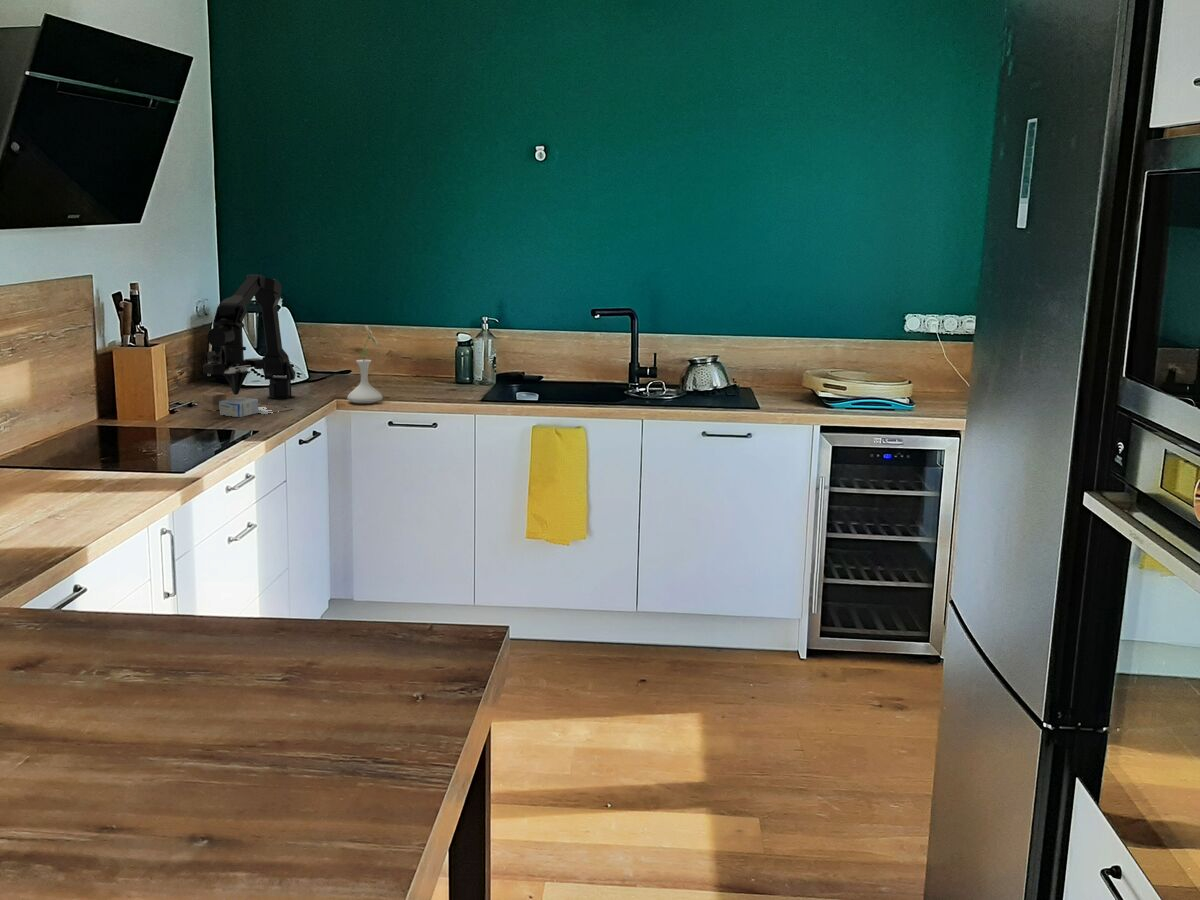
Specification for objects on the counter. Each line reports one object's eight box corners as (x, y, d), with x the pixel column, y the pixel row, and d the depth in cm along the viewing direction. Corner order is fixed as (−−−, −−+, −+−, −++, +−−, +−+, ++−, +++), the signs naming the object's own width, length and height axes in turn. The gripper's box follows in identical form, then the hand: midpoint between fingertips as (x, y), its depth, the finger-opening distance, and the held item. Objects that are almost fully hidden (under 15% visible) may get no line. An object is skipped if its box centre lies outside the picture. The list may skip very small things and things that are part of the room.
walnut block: (217, 407, 369) (216, 392, 368) (226, 409, 366) (225, 393, 365) (203, 410, 365) (202, 394, 364) (213, 411, 362) (212, 395, 361)
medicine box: (240, 410, 363) (219, 415, 356) (239, 396, 362) (218, 401, 354) (259, 412, 359) (238, 418, 352) (258, 398, 358) (237, 403, 351)
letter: (267, 404, 375) (267, 403, 375) (295, 409, 367) (295, 408, 367) (235, 409, 366) (235, 408, 366) (264, 414, 357) (264, 414, 357)
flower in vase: (374, 406, 374) (372, 328, 368) (341, 404, 376) (338, 327, 371) (390, 399, 386) (388, 324, 381) (357, 398, 388) (355, 323, 383)
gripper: (242, 338, 365) (244, 388, 368) (190, 344, 351) (193, 395, 354) (264, 341, 359) (267, 391, 362) (212, 347, 344) (215, 399, 347)
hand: (235, 394), depth 356 cm, fingers closed
